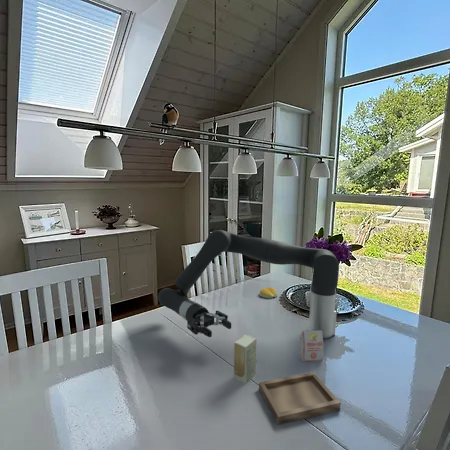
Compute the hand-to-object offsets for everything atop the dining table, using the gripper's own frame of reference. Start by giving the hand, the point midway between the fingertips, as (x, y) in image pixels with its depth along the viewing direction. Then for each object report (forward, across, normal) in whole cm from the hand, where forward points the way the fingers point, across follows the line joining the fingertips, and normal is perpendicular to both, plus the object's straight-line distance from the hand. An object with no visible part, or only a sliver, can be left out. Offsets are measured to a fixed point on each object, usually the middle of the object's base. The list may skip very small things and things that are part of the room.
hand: (221, 330), depth 99 cm
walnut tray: (+28, +5, +10) cm, 30 cm away
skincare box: (+12, 0, +11) cm, 16 cm away
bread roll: (-26, +54, +11) cm, 61 cm away
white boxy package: (+19, +24, +10) cm, 33 cm away
